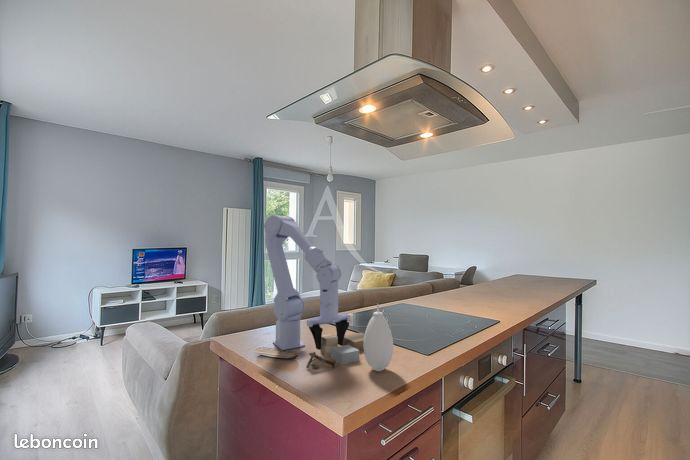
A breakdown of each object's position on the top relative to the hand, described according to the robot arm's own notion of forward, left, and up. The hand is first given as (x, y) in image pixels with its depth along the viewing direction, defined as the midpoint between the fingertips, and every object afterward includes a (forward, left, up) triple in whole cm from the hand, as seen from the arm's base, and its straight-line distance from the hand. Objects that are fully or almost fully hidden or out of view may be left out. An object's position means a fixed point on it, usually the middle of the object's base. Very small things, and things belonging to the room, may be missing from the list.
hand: (329, 346), depth 99 cm
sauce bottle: (+19, +4, -2) cm, 20 cm away
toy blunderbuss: (+10, -8, -2) cm, 13 cm away
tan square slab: (0, +11, -2) cm, 11 cm away
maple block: (0, 0, -2) cm, 2 cm away
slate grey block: (+8, +1, -2) cm, 8 cm away
